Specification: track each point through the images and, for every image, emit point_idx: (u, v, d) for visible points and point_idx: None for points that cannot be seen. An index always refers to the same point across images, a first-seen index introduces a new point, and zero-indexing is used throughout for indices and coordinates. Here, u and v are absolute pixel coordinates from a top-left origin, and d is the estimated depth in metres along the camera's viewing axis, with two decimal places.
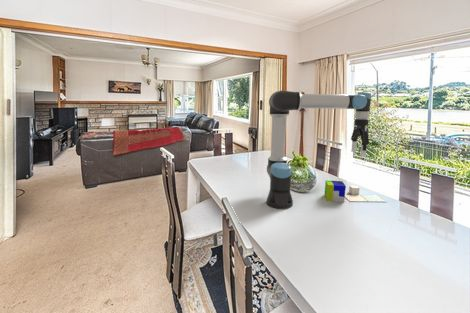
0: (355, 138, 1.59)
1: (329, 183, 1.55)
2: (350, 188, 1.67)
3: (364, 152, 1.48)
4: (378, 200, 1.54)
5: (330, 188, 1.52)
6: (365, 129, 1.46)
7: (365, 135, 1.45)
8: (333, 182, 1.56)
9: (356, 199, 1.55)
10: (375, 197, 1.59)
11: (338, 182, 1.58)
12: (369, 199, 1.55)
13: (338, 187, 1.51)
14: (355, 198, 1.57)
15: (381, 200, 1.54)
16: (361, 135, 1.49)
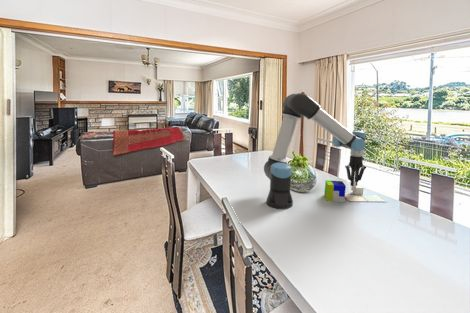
0: (355, 176, 1.65)
1: (329, 183, 1.55)
2: None
3: (352, 187, 1.66)
4: (378, 200, 1.54)
5: (330, 188, 1.52)
6: (346, 167, 1.63)
7: (347, 172, 1.64)
8: (333, 182, 1.56)
9: (356, 199, 1.55)
10: (375, 197, 1.59)
11: (338, 182, 1.58)
12: (369, 199, 1.55)
13: (338, 187, 1.51)
14: (355, 198, 1.57)
15: (381, 200, 1.54)
16: (351, 171, 1.65)
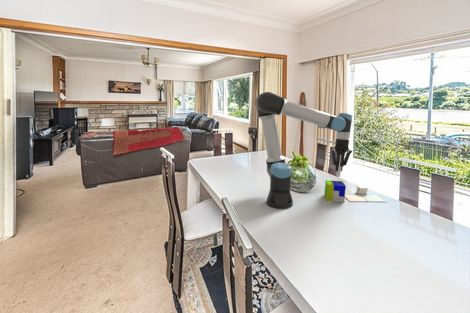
0: (340, 161, 1.56)
1: (329, 183, 1.55)
2: (358, 188, 1.67)
3: (337, 173, 1.57)
4: (378, 200, 1.54)
5: (330, 188, 1.52)
6: (331, 151, 1.55)
7: (332, 156, 1.56)
8: (333, 182, 1.56)
9: (356, 199, 1.55)
10: (375, 197, 1.59)
11: (338, 182, 1.58)
12: (369, 199, 1.55)
13: (338, 187, 1.51)
14: (355, 198, 1.57)
15: (381, 200, 1.54)
16: None
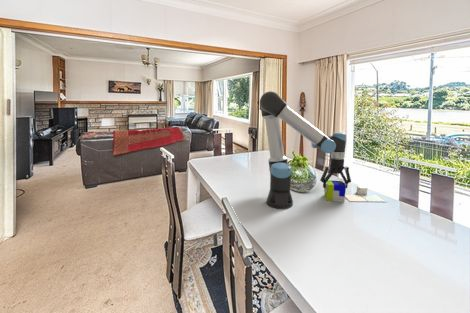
0: (343, 179, 1.55)
1: (329, 183, 1.55)
2: (358, 188, 1.67)
3: (325, 189, 1.56)
4: (378, 200, 1.54)
5: (331, 188, 1.52)
6: (325, 168, 1.54)
7: (323, 173, 1.55)
8: (333, 182, 1.56)
9: (356, 199, 1.55)
10: (375, 197, 1.59)
11: (338, 181, 1.58)
12: (369, 199, 1.55)
13: (338, 187, 1.51)
14: (355, 198, 1.57)
15: (381, 200, 1.54)
16: None
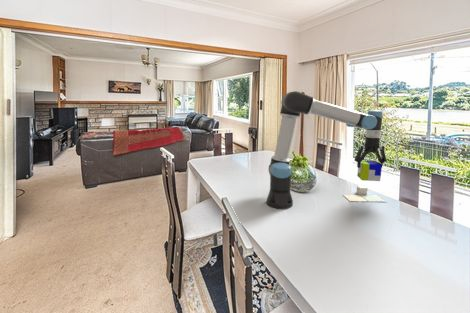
0: (378, 158, 1.52)
1: (364, 162, 1.52)
2: (358, 188, 1.67)
3: (359, 169, 1.53)
4: (378, 200, 1.54)
5: (366, 167, 1.49)
6: (360, 147, 1.51)
7: (358, 152, 1.52)
8: (367, 162, 1.53)
9: (356, 199, 1.55)
10: (375, 197, 1.59)
11: (372, 161, 1.55)
12: (369, 199, 1.55)
13: (374, 166, 1.48)
14: (355, 198, 1.57)
15: (381, 200, 1.54)
16: (363, 153, 1.53)
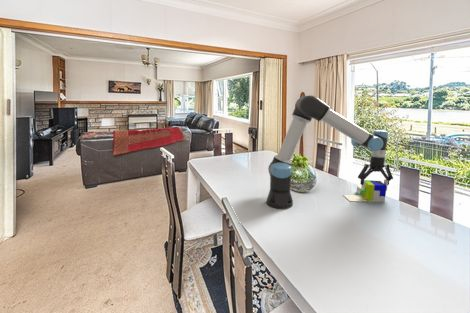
0: (384, 176, 1.55)
1: (369, 183, 1.54)
2: (358, 188, 1.67)
3: (362, 186, 1.55)
4: None
5: (371, 188, 1.51)
6: (365, 165, 1.53)
7: (362, 170, 1.54)
8: (372, 182, 1.56)
9: (356, 199, 1.55)
10: None
11: (376, 181, 1.57)
12: None
13: (379, 187, 1.51)
14: (355, 198, 1.57)
15: None
16: None
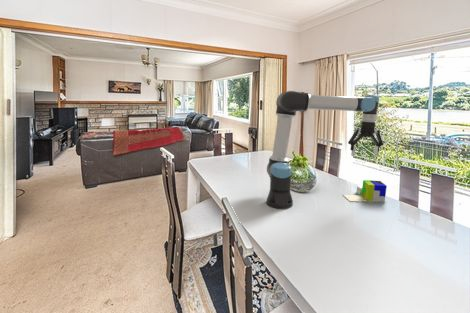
0: (375, 142, 1.54)
1: (369, 183, 1.54)
2: (358, 188, 1.67)
3: (352, 152, 1.55)
4: None
5: (371, 188, 1.51)
6: (355, 130, 1.53)
7: (352, 136, 1.54)
8: (372, 182, 1.56)
9: (356, 199, 1.55)
10: None
11: (376, 181, 1.57)
12: None
13: (379, 187, 1.51)
14: (355, 198, 1.57)
15: None
16: None
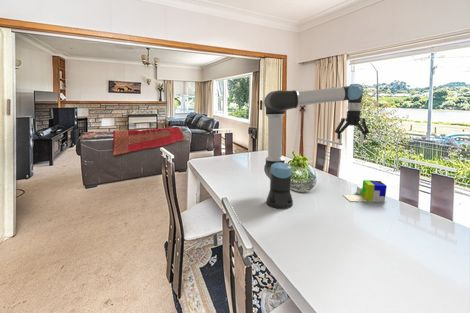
0: (361, 130, 1.57)
1: (369, 183, 1.54)
2: (358, 188, 1.67)
3: (339, 141, 1.58)
4: None
5: (371, 188, 1.51)
6: (341, 119, 1.56)
7: (339, 124, 1.57)
8: (372, 182, 1.56)
9: (356, 199, 1.55)
10: None
11: (376, 181, 1.57)
12: None
13: (379, 187, 1.51)
14: (355, 198, 1.57)
15: None
16: (344, 125, 1.58)
